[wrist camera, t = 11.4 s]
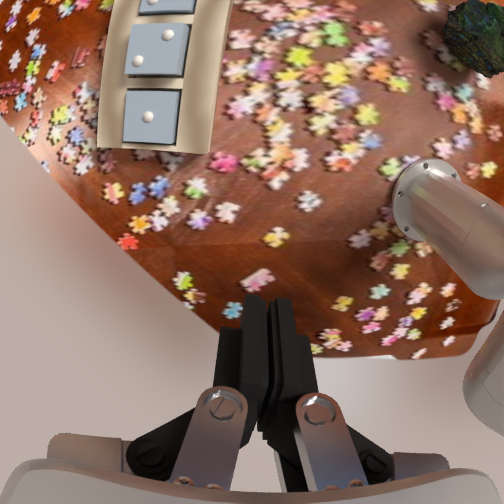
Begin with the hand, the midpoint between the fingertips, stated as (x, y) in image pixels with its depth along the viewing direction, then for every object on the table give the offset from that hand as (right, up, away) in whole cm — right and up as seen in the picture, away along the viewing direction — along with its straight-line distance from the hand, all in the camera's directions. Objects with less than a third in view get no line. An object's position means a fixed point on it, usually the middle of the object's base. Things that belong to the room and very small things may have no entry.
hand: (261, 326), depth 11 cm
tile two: (-11, +25, +16) cm, 32 cm away
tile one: (-12, +19, +21) cm, 31 cm away
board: (-11, +27, +19) cm, 34 cm away
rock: (+31, +35, +14) cm, 49 cm away
